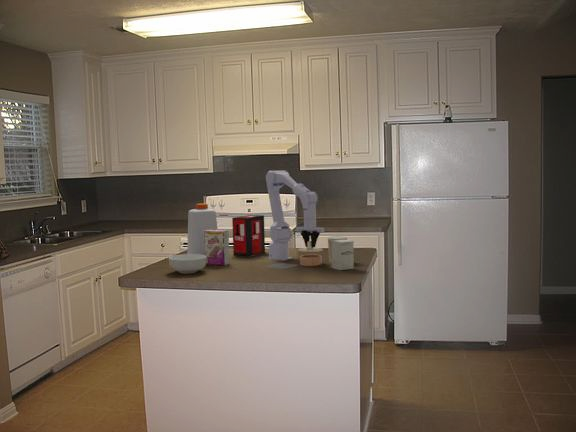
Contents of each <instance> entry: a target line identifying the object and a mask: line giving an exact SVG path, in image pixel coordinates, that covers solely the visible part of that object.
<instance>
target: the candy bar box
mask: <svg viewBox="0 0 576 432" xmlns="http://www.w3.org/2000/svg"><path fill="white" fill-rule="evenodd" d="M229 237H230V236H229V230H225V229H223V230H221V229H218V230H205V231H204V242H205V256H206V257H207V260H206V265H211V266H227V265H230V243H229V242H230V240H229V239H230V238H229Z"/></svg>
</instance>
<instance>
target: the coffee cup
mask: <svg viewBox="0 0 576 432" xmlns="http://www.w3.org/2000/svg"><path fill="white" fill-rule="evenodd" d="M326 240H327V247H328V248H327V249H328V257H329V263H331V264H332V241H334V240H348V238H347V236H341V235H339V236H338V235H337V236H329V237H327V239H326Z"/></svg>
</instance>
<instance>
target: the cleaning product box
mask: <svg viewBox="0 0 576 432" xmlns="http://www.w3.org/2000/svg"><path fill="white" fill-rule="evenodd" d="M231 220H232V223H231V224H232V249H233V250H232V252H233V257H241V258H251V257H254V256H257V255H260V254H265V253H266V246H265V244H266V241H265V235H266V234H265V215H263V214H261V215H260V214H259V215H258V214H257V215H256V214H249V215H241V216H236V217H232V219H231ZM253 255H254V256H253Z"/></svg>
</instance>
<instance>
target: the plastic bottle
mask: <svg viewBox="0 0 576 432" xmlns="http://www.w3.org/2000/svg"><path fill="white" fill-rule="evenodd" d="M208 206H209V205H208V203H196V204H195V208H193V209H190V210H188V212H187V213H188V214H187V215H188V216H187V217H188V218H187V244H186V245H187V249H186V250H187V251H186V254H199V255H205V242H204V231H205V230H219V229H218V221H217V220H218V219H217V211H216V210H215V209H212V208H209V207H208Z"/></svg>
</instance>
